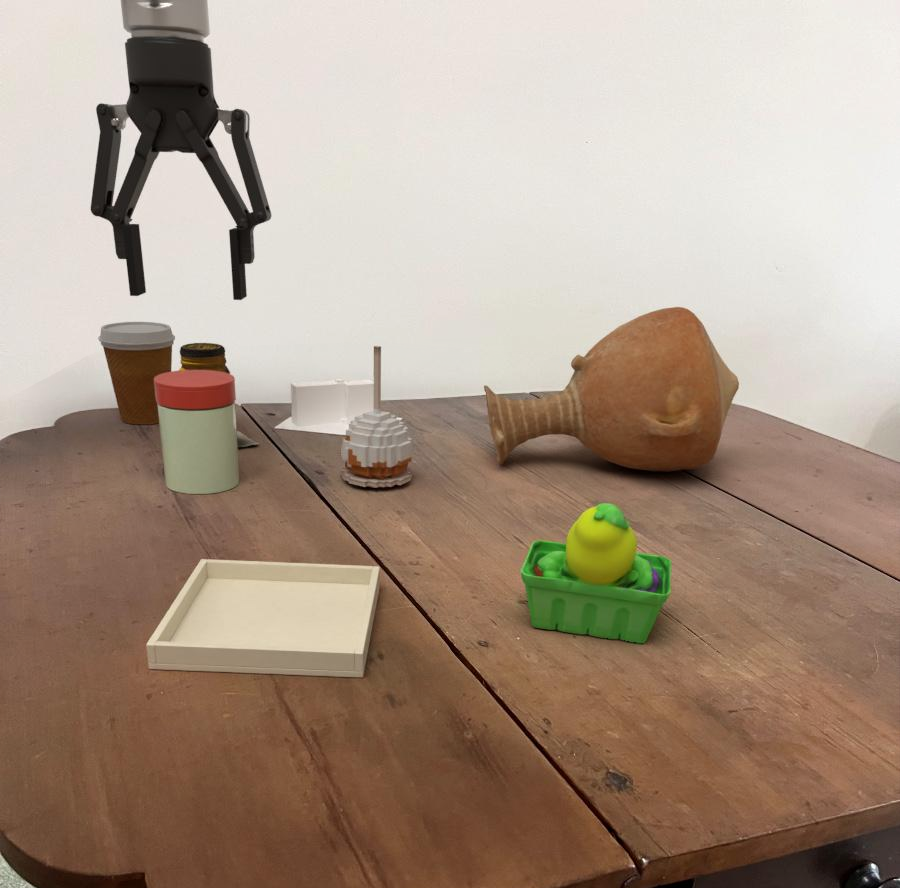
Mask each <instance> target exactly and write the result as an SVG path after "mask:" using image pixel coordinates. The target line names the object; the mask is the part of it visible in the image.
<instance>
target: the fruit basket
mask: <svg viewBox="0 0 900 888" xmlns="http://www.w3.org/2000/svg"><path fill="white" fill-rule="evenodd" d="M637 548H638V539H637V536H636V533H635V532H634V530H633V529H632V527H631V524H630V522H628V521H627V520H626V516H625V515H624V513H623V511H622V510H620V508H619V507H618V506H617V505H615V504H613V503H608V502H602V503H599V504H597V505H596V506H592V507H589V508H587V509H586V510H585V511H583V512H582V513H581V515H580V516H579V517H578V519H577V520H576V521H575V522H574V523H573V524H572V526H571V527H570V528H569V530H568V533H567V536H566V539H565V542H564V543H563V542H556V541H551V540H550V541H549V540H541V539H540V540H535V541H532V542H531V544H530V547H529V549H528V552H527V555H526V557H525V560H524V562H523V564H522V566H521V568H520V575H521V580H522V583H523V584H524V588H525V593H526V599H527V600H526V601H527V605H528V612H529V616H530V617H529V618H530V622H531V623H530V624H531V626H532V627H533V628H536V629H540V630H541V629H542V630H549V631H551V630H552V631H556V630H557V631H558V632H563V633H568V634H575V635H588V636H591V637H594V638H601V639H607V638H608V640H621V641H624V640H625V641H624V642H627V641H629V642H628V643H634V642H636V643H635V644H641V643H643V644H645V643H646V641H647V639H648V637H649V635H650V633H651V631H652V629H653V626H654V624H655V622H656V620H657V618H658V616H659V613H660V612H661V609H662V607H663V605H664V604H665V603H666V602H667V601H668V599H669V597H670V596H671V593H672V589H671V586H672V560H671V559H669V557H666V556H663V555H658V554H657V555H655V554H648V553H643V552H642V553H641V552H637Z"/></svg>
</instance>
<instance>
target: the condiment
mask: <svg viewBox="0 0 900 888" xmlns="http://www.w3.org/2000/svg"><path fill="white" fill-rule="evenodd" d="M179 355H180V364H181V367H180V368H179V370H178V371H180V370H213V371H220V372H225V373H228V374H231V371H230V369H229V367H228V366H227V365H226V364H227V358H226V348H225V346H223V345H222V344H219V343H214V342H213V343H212V342H192V343H187V344H183V345H182V346H180V348H179ZM237 443H238V448H246V447H249V446H253V445H254V446H256V445H260V443H259V442H257V441H254V440H253V439H251V438H250V437H247V435H245V434H243V433H242V432H240V430H237Z"/></svg>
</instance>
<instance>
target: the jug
mask: <svg viewBox="0 0 900 888" xmlns="http://www.w3.org/2000/svg"><path fill="white" fill-rule="evenodd" d="M570 366H571V368H572V369H573V370H574V371H573V373H572V375H571V376H570V377H571V378H570V380H569V382H568V383H567V385H566V386H565V388H564V389H563V390H561V391H559V392H557V393H556V394H552V395H547V396H544V397H540V398H533V399H516V398H506V397H503V396H501V395H498V394H496V393H495V392H494V391H493V390H492V389H491V388H490V387H489V386H488V385H485V384H484V385H483V390H484V393H485V400H486V408H487V424H488V426H489V430H490V434H491V437H492V440H493V445H494V448H495V452H496V454H497V458H496V459H497V463H498V464H499V466H502V465H503V464H504V462H506V461H505V460H506V459H507V458H508V456H509V455H510V454H511V453H512V452H513V451H514V450H515V449H516V448H518V446H520V445H521V444H524V443H526V442H527V441H529V440H533V439H537V438H539V437H543V436H549V435H565V436H569V437H574V438H576V439H577V440H578V441H579V442H580V443H581V444H582V446H584V447H585V448H586V449H588V450H589V451H590V452H592V453H594V454H595V455H597V456H598V457H599V458H601V459H603V460H605V461H607V462H610V463H613V464H615V465H618V466H621V467H624V468H628V469H633V470H641V471H649V472H662V473H663V472H664V473H667V472H668V473H669V472H675V471H676V472H677V471H682V470H695V469H698V468H699V467H700V468H701V467H702V466H705V465H708V464H709V463H710V462H711V461H713V459H714V457H715V455H716V453H717V451H718V447H719V444H720V440H721V436H722V432H723V429H724V425H725V421H726V419H727V416H728V413H729V410H730V408H731V406H732V403H733V400H734V397H735V396H736V395H737V392H738V390H739V386H740V383H739V379H738V376H737V375H736V374H735V373H734V371H732V370H731V369H730V368H729V367H728V365H727V364H726V363H725V362H724V360H723V359H722V357H721V356H720V354H719V352H718V351H717V349H716V347H715V345H714V343H713V341H712V340H711V338H710V335H709V333H708V331H707V330H706V327H705V326H704V324H703V322H702V321H701V320H700V318H699V317H698V316H697V315H696V313H694V312H693V311H691V310H690V309H688V308H686V307H682V306H674V307H665V308H660V309H656V310H653V311H649V312H647V313H645V314H644V313H643V314H642V315H639V316H637V317H635V318H633V319H631V320H629V321H627V322H626V323H622V324H621V325H619V326H618V327H616V328H614V329H613V330H612V331H610V332H609V333H608V334H606V335H605V336H604V337H602V338H601V339H599V341H597V342H596V343H595V344H594V346H592V347H591V348H590V349H589V350H588V351H587V353H586V354H585V355H584V356H583V355H581V354H576V355H575V356H574V357H573V359H572V360H571V363H570Z"/></svg>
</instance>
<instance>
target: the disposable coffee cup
mask: <svg viewBox="0 0 900 888" xmlns="http://www.w3.org/2000/svg"><path fill="white" fill-rule="evenodd" d="M171 327H172V326H170V325H169V324H167V323H161V322H154V321H123V322H122V321H121V322H114V323H113V322H111V323H107V324H104V325H102V326H100V335H99V336H98V337H97V339H98V341H99V342H100V345H101V347H102V348H103V351H104V355H105V356H104V357H105V360H106V363H107V368H108V371H109V376H110V381H111V384H112V388H113V392H114V395H115V400H116V404H117V405H116V406H117V407H118V412H119V417H120V420H121V421H122V422H123V423H126V424H132V425H155V424H159V417H158V406H157V402H156V397H155V387H154V377H155V376H157V375H159V374H162V373H166V372H172V361H173V345H174V343H175V342H174V341H175V339H176V335H175V334H173V331H172V328H171Z"/></svg>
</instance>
